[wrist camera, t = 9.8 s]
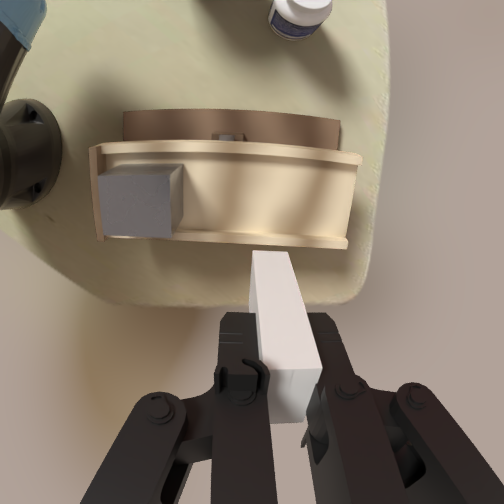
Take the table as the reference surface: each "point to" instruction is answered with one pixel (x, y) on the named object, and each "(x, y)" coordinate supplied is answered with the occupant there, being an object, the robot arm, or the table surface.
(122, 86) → the table surface
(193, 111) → the stand
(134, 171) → the block
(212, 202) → the balance beam
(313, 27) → the pill bottle
